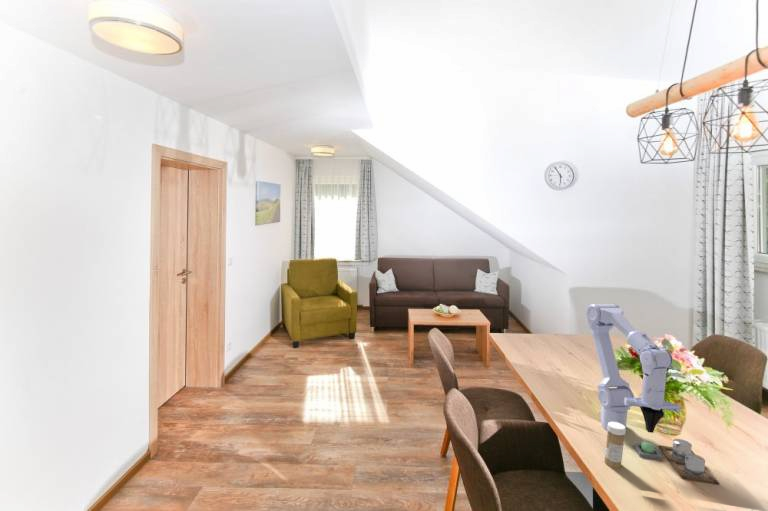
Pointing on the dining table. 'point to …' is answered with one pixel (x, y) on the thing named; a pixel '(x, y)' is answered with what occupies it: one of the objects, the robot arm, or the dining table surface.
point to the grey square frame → (647, 455)
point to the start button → (647, 447)
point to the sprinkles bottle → (614, 444)
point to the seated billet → (681, 449)
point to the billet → (694, 465)
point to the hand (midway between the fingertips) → (649, 430)
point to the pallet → (674, 463)
